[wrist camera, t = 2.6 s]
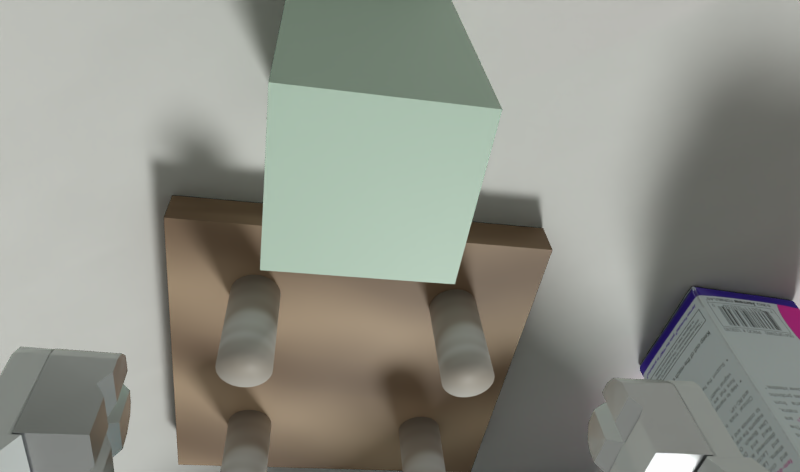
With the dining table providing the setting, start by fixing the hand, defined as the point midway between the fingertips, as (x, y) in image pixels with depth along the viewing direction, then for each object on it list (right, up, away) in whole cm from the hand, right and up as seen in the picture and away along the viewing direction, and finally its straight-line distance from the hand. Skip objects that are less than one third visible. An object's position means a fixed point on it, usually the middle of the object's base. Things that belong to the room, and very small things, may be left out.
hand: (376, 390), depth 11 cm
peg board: (-2, -2, +20) cm, 20 cm away
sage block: (-1, +9, +11) cm, 15 cm away
